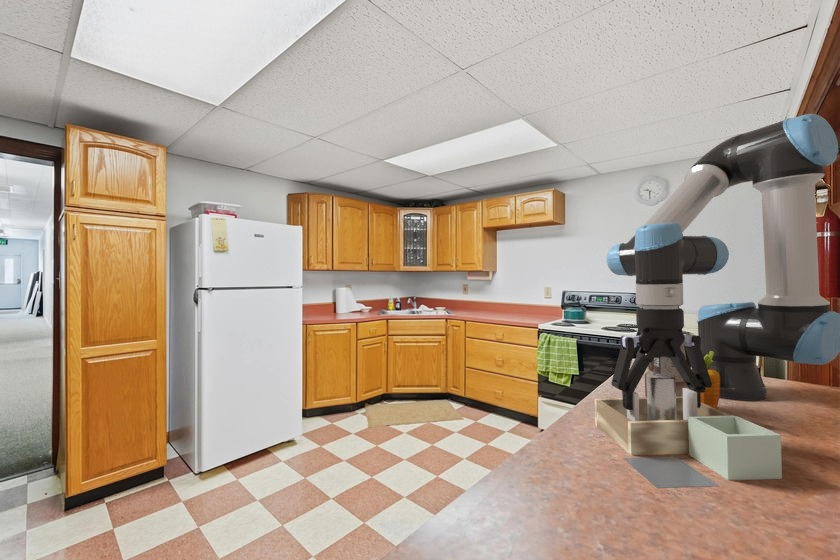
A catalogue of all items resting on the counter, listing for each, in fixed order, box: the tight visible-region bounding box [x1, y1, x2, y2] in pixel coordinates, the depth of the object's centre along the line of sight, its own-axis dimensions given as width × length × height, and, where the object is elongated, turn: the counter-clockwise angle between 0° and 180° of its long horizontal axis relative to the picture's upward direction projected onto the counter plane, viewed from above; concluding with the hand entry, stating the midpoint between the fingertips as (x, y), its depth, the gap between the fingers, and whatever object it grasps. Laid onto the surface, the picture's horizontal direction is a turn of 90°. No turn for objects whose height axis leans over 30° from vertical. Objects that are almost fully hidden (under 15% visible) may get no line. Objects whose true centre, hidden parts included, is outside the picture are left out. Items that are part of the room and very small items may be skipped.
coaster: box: [622, 456, 720, 489], centre depth 59 cm, size 9×9×1 cm
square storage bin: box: [688, 415, 783, 481], centre depth 60 cm, size 8×8×7 cm
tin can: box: [646, 374, 677, 421], centre depth 71 cm, size 5×5×12 cm
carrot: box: [701, 351, 720, 410], centre depth 78 cm, size 5×5×15 cm
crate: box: [594, 397, 732, 456], centre depth 71 cm, size 19×13×6 cm
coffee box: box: [644, 344, 692, 398], centre depth 87 cm, size 9×6×16 cm
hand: (661, 425), depth 71 cm, fingers open, 10 cm apart
